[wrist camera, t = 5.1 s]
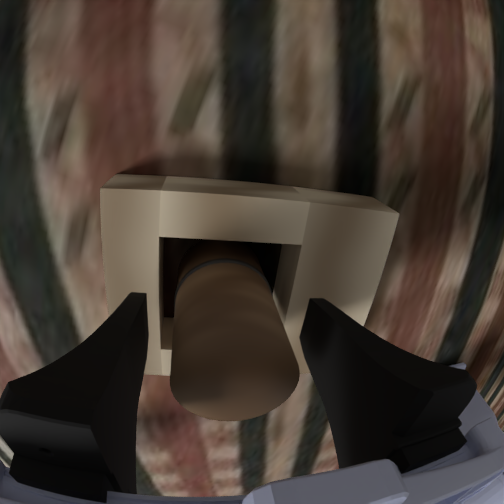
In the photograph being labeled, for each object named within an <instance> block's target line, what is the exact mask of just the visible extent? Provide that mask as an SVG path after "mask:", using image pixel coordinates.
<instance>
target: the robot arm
mask: <svg viewBox="0 0 504 504" xmlns="http://www.w3.org/2000/svg"><path fill="white" fill-rule="evenodd" d="M299 339H300V343H301V347H302V351H303V355H304V358H305V361H306V363H307V366H308V368H309V370H310V373H311V375H312V377H313V380H314V382H315V384H316V387H317V389H318V391H319V394H320V396H321V398H322V401H323V404H324V406H325V409H326V413H327V416H328V420H329V423H330V427H331V431H332V435H333V439H334V444H335V448H336V453H337V458H338V463H339V469H336V470H332V471H327V472H322V473H316V474H310V475H304V476H298V477H291V478H287V479H283V480H278V481H273V482H270V483H267V484H265V485H262V486H260V487H257V488H255V489H254V490H253V491H251V492H250V493H249V494H248V495H239V496H221V497H169V496H151V495H139V494H137V491H136V423H137V409H138V402H139V396H140V391H141V386H142V381H143V375H144V370H145V365H146V360H147V352H148V340H149V329H148V311H147V293H139V292H131V293H129V294H128V295H127V297H126V298H125V299H124V300H123V302H122V303H121V304H120V305H119V306H118V307H117V309H116V310H115V311H114V312H113V313H112V314H111V315H110V316H109V317H108V319H107V320H106V321H105V322H104V323H103V324H102V325H101V326H100V327H99V328H98V329H97V330H96V331H95V332H94V333H93V334H92V335H90V336H89V337H88V338H87V339H86V340H85V341H84V342H82V343H81V344H80V345H78V346H77V347H76V348H74V349H73V350H72V351H70V352H68V353H67V354H65V355H64V356H62V357H61V358H59V359H58V360H56V361H54V362H53V363H51V364H49V365H47V366H45V367H43V368H41V369H39V370H37V371H35V372H33V373H31V374H28V375H26V376H23V377H20V378H18V379H15V380H13V381H10V382H8V384H7V385H6V387H5V389H4V391H3V393H2V395H1V398H0V435H1V436H2V438H3V439H4V440H5V442H6V443H7V444H8V446H9V447H10V448H11V450H12V451H13V452H14V456H13V459H12V463H11V466H10V468H8V467H5V465H4V464H3V462H2V461H1V460H0V504H504V433H503V432H502V430H501V429H500V428H499V426H498V423H497V419H496V416H495V414H494V412H493V411H492V410H491V408H490V407H489V406H488V404H487V403H486V402H485V400H484V399H483V398H482V397H481V395H480V394H479V393H478V391H477V390H476V388H477V384H476V382H475V380H474V379H473V378H472V377H471V376H470V374H469V373H468V372H467V371H466V370H465V368H466V364H465V363H459V364H455V365H451V366H446V365H442V364H439V363H436V362H433V361H429V360H427V359H424V358H421V357H419V356H416V355H414V354H412V353H409V352H407V351H405V350H403V349H400V348H398V347H397V346H395V345H393V344H391V343H389V342H387V341H385V340H384V339H382V338H380V337H379V336H377V335H376V334H374V333H372V332H371V331H369V330H368V329H366V328H365V327H363V326H362V325H361V324H359V323H358V322H356V321H355V320H354V319H352V318H351V317H350V316H348V315H347V314H345V313H344V312H343V311H341V310H340V309H339V308H337V307H336V306H335V305H333V304H332V303H330V302H329V301H327V300H326V299H324V298H310V299H309V303H308V306H307V310H306V314H305V318H304V322H303V325H302V329H301V333H300V336H299Z"/></svg>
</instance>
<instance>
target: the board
mask: <svg viewBox="0 0 504 504" xmlns="http://www.w3.org/2000/svg"><path fill="white" fill-rule="evenodd" d="M100 210H101V236H102V253H103V267H104V278H105V288H106V297H107V306H108V314H109V316H110V315H111V314H112V313H113V312H114V311H115V310H116V309H117V307H118V306H119V305H120V304H121V303H122V302H123V300H124V299H125V298H126V297H127V295H128V294H129V293H131V292H139V293H147V311H148V329H149V340H148V352H147V360H146V365H145V370H144V374H151V375H170V371H171V354H172V339H173V325H174V318H171V317H164V299H163V266H164V237H174V238H193V239H211V240H228V241H246V242H263V243H279V244H282V247H281V253H280V258H279V264H278V269H277V274H276V280H275V285H274V290H273V299H274V302H275V305H276V307H277V310H278V312H279V315H280V318H281V320H282V323H283V325H284V328H285V331H286V333H287V336H288V338H289V341H290V344H291V346H292V349H293V351H294V354H295V357H296V359H297V362H298V365H299V370H300V374H306V373H310V370H309V368H308V366H307V363H306V361H305V358H304V355H303V351H302V347H301V343H300V339H299V336H300V333H301V329H302V325H303V322H304V318H305V314H306V310H307V306H308V303H309V299H310V298H324V299H326V300H327V301H329V302H330V303H332V304H333V305H335V306H336V307H337V308H339V309H340V310H341V311H343V312H344V313H345V314H347V315H348V316H350V317H351V318H352V319H354V320H355V321H356V322H358V323H359V324H361V325H362V326H364V324H365V321H366V318H367V316H368V313H369V310H370V308H371V305H372V302H373V299H374V296H375V293H376V290H377V287H378V284H379V282H380V278H381V275H382V272H383V269H384V266H385V263H386V260H387V256H388V253H389V250H390V247H391V243H392V240H393V236H394V233H395V229H396V226H397V222H398V218H399V213H398V212H396V211H394V210H393V209H391V208H390V207H388V206H386V205H385V204H383V203H381V202H380V201H378V200H376V199H375V198H373V197H368V196H361V195H355V194H348V193H341V192H333V191H326V190H318V189H310V188H301V187H293V186H284V185H275V184H265V183H254V182H244V181H232V180H220V179H206V178H192V177H175V176H155V175H129V174H116V175H115V176H113V177H112V178H111V179H110V180H109V181H108V182H107V183H106V184H104V185H103V186H102V187H101V188H100Z"/></svg>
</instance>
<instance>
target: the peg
mask: <svg viewBox="0 0 504 504" xmlns="http://www.w3.org/2000/svg"><path fill="white" fill-rule="evenodd" d="M174 310H175V313H174V325H173V339H172V354H171V371H170V387H171V391H172V393H173V395H174V397H175V399H176V400H177V401H178V402H179V404H181V405H182V406H183V407H184V408H185V409H187V410H188V411H190V412H192V413H194V414H196V415H198V416H201V417H204V418H207V419H212V420H218V421H239V420H246V419H250V418H254V417H258V416H261V415H263V414H265V413H268V412H270V411H272V410H273V409H275V408H277V407H278V406H280V405H281V404H282V403H283V402H285V401H286V400H287V399H288V398H289V397H290V395H291V394H292V393H293V391H294V390H295V388H296V386H297V384H298V381H299V375H300V370H299V365H298V362H297V359H296V357H295V354H294V351H293V349H292V346H291V344H290V341H289V338H288V336H287V333H286V331H285V328H284V325H283V323H282V320H281V318H280V315H279V312H278V310H277V307H276V305H275V302H274V299H273V295H272V291H271V288H270V285H269V283H268V281H267V279H266V278H265V276H264V273H263V271H262V268H261V265H260V263H259V260H258V258H257V256H256V254H255V253H254V252H253V250H252V249H251V248H250V247H249V246H247V245H246V244H244V243H243V242H241V241H228V240H211V239H205V240H203V241H200V242H199V243H197V244H195V245H194V246H192V247H191V248H190V249H189V250H188V251H187V252H186V254H185V255H184V257H183V258H182V260H181V263H180V266H179V271H178V280H177V289H176V292H175V299H174Z"/></svg>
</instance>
